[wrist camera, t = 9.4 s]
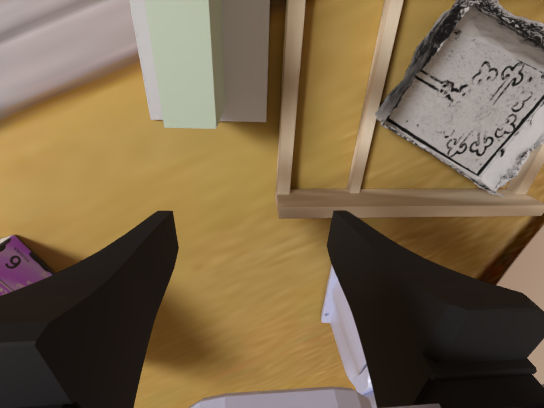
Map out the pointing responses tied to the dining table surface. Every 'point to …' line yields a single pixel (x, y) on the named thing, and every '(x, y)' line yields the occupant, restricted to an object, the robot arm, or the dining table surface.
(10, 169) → the dining table surface
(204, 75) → the pale green block
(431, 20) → the dining table surface
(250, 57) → the light gray panel
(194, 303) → the dining table surface
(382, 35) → the birch rack
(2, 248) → the candy box
